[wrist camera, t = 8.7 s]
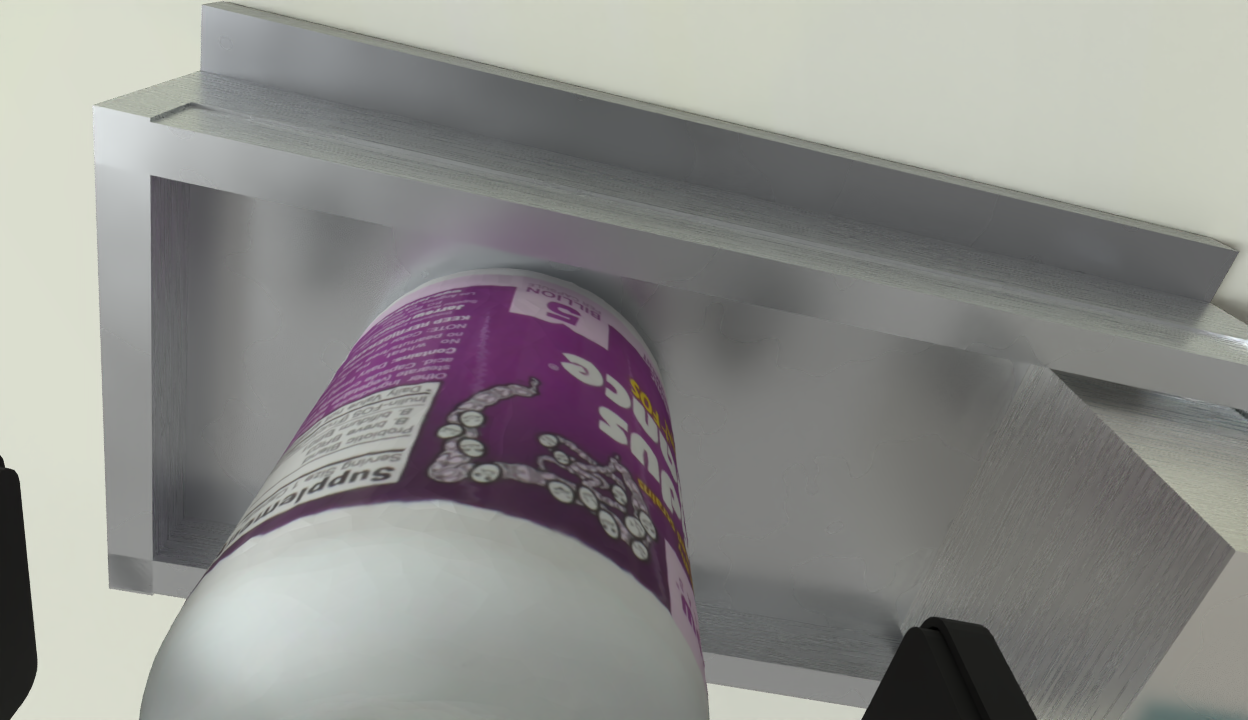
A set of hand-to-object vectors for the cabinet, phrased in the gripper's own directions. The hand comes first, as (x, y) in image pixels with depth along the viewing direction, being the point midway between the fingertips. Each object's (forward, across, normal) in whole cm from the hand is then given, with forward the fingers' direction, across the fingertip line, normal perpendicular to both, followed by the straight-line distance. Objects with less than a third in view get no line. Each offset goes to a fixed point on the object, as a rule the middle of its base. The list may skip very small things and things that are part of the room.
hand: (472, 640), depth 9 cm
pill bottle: (+6, 0, 0) cm, 6 cm away
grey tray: (+8, -3, +1) cm, 9 cm away
